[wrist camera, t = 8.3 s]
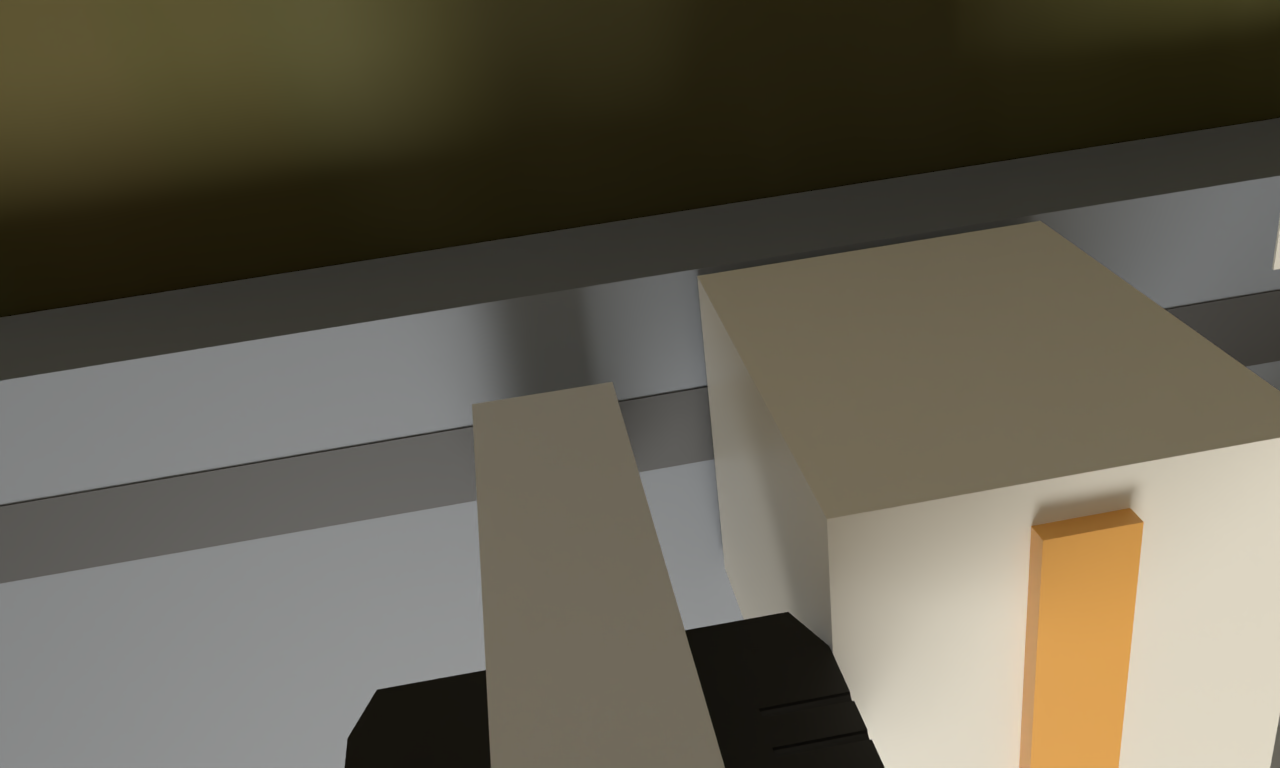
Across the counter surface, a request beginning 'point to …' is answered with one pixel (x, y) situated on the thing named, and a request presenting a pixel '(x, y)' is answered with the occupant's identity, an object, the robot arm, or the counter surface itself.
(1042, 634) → the fader
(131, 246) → the counter surface
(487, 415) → the robot arm
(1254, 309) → the console
